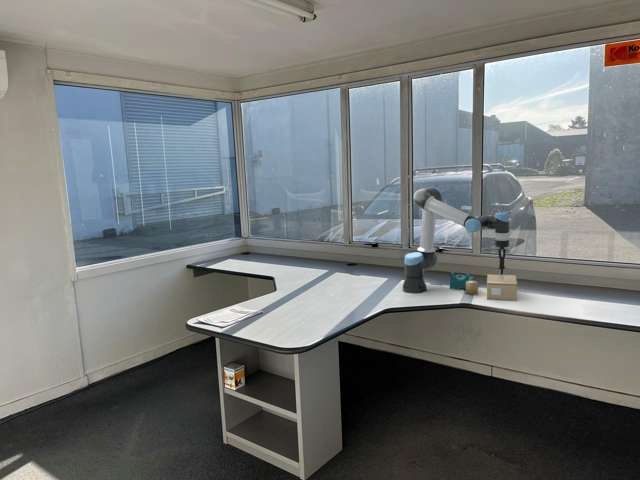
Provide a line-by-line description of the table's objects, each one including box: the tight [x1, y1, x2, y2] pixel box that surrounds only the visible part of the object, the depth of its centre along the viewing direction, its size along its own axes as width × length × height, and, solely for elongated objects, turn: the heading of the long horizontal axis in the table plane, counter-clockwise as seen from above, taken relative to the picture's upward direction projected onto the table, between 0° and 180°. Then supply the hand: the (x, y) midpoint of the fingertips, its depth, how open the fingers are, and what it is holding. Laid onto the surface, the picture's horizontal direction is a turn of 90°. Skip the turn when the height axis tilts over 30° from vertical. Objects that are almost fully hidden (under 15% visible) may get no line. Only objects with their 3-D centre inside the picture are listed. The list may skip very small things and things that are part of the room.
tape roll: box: [465, 280, 479, 296], centre depth 275 cm, size 7×7×7 cm
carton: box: [486, 283, 518, 302], centre depth 268 cm, size 16×20×9 cm
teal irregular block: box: [449, 271, 474, 291], centre depth 292 cm, size 18×11×10 cm, turn 150°
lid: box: [486, 274, 518, 286], centre depth 267 cm, size 16×20×1 cm
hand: (501, 279), depth 262 cm, fingers closed
